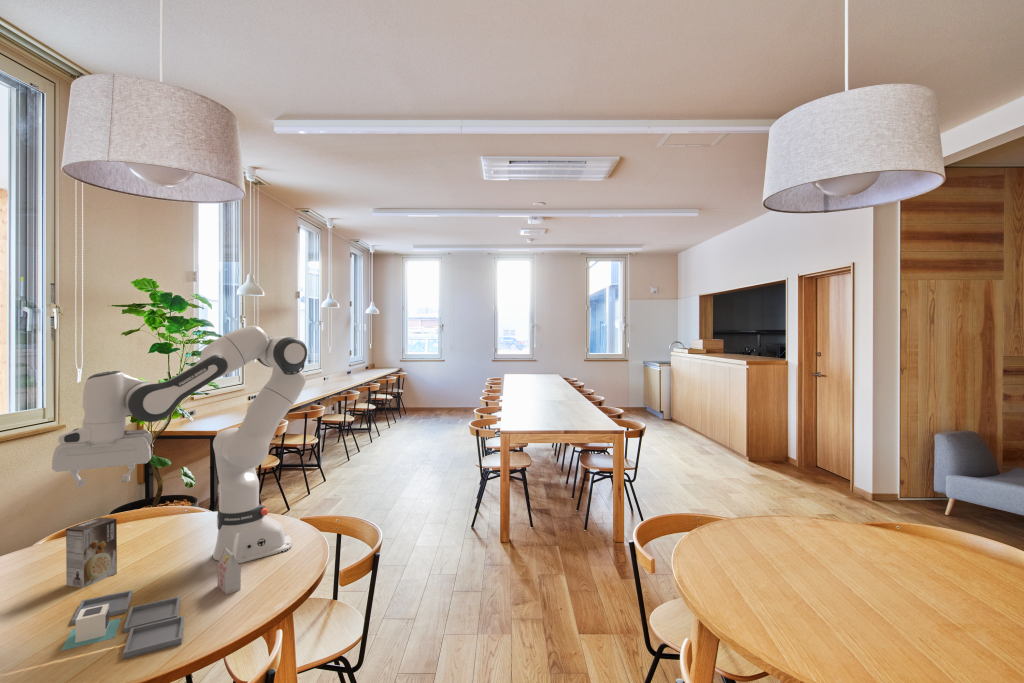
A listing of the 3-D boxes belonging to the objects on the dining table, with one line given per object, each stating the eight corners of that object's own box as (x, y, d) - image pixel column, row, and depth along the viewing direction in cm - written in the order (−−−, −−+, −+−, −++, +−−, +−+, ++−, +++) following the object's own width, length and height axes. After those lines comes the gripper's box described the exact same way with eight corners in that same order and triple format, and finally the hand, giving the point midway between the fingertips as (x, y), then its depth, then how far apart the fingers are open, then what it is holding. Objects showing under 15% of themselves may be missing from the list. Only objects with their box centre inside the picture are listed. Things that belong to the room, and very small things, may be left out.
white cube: (109, 624, 114) (109, 602, 114) (105, 635, 109) (105, 612, 109) (81, 631, 111) (81, 608, 111) (75, 642, 107) (75, 619, 107)
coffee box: (99, 571, 140) (100, 516, 140) (117, 573, 139) (118, 518, 139) (64, 586, 131) (65, 528, 131) (83, 589, 130) (84, 530, 130)
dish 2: (180, 601, 124) (180, 596, 124) (177, 621, 116) (177, 615, 116) (130, 612, 119) (130, 607, 119) (123, 634, 110) (123, 628, 110)
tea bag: (232, 581, 135) (232, 545, 135) (240, 589, 131) (240, 553, 131) (217, 585, 133) (217, 549, 133) (225, 594, 128) (225, 557, 128)
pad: (121, 619, 116) (121, 618, 116) (114, 639, 108) (114, 637, 108) (72, 630, 112) (72, 629, 112) (60, 652, 104) (60, 650, 104)
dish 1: (132, 595, 127) (132, 589, 127) (126, 614, 119) (126, 608, 119) (82, 605, 122) (82, 600, 122) (71, 626, 113) (71, 620, 113)
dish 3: (184, 621, 116) (184, 615, 116) (181, 644, 107) (181, 637, 107) (130, 634, 110) (131, 628, 110) (123, 659, 102) (123, 652, 102)
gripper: (153, 427, 137) (153, 475, 137) (57, 433, 126) (56, 486, 126) (151, 430, 131) (150, 481, 131) (49, 437, 121) (49, 492, 121)
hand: (103, 483), depth 129 cm, fingers open, 8 cm apart
